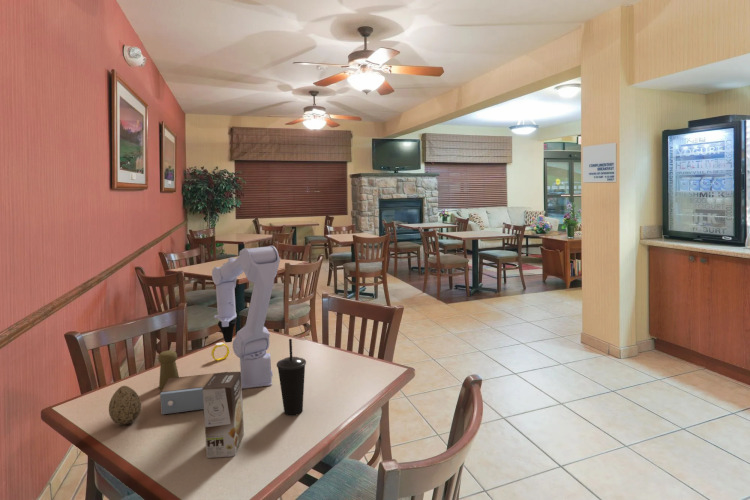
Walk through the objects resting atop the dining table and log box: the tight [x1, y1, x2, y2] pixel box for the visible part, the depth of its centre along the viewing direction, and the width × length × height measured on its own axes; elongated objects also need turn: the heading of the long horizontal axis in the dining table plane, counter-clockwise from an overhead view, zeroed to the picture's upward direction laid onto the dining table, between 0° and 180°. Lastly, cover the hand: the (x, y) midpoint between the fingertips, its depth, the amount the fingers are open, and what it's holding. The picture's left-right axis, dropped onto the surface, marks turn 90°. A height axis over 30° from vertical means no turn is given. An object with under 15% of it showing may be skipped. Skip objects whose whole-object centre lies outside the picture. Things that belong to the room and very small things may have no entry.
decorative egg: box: [108, 385, 142, 426], centre depth 109 cm, size 7×7×10 cm
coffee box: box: [202, 371, 245, 459], centre depth 97 cm, size 9×6×16 cm
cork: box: [157, 349, 180, 391], centre depth 130 cm, size 6×6×11 cm
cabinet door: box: [159, 387, 204, 415], centre depth 114 cm, size 17×3×6 cm, turn 104°
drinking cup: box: [276, 338, 307, 417], centre depth 112 cm, size 8×8×20 cm
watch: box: [211, 342, 230, 362], centre depth 152 cm, size 6×3×6 cm, turn 131°
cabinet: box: [161, 371, 224, 392], centre depth 120 cm, size 16×9×6 cm, turn 104°
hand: (228, 341), depth 143 cm, fingers closed
